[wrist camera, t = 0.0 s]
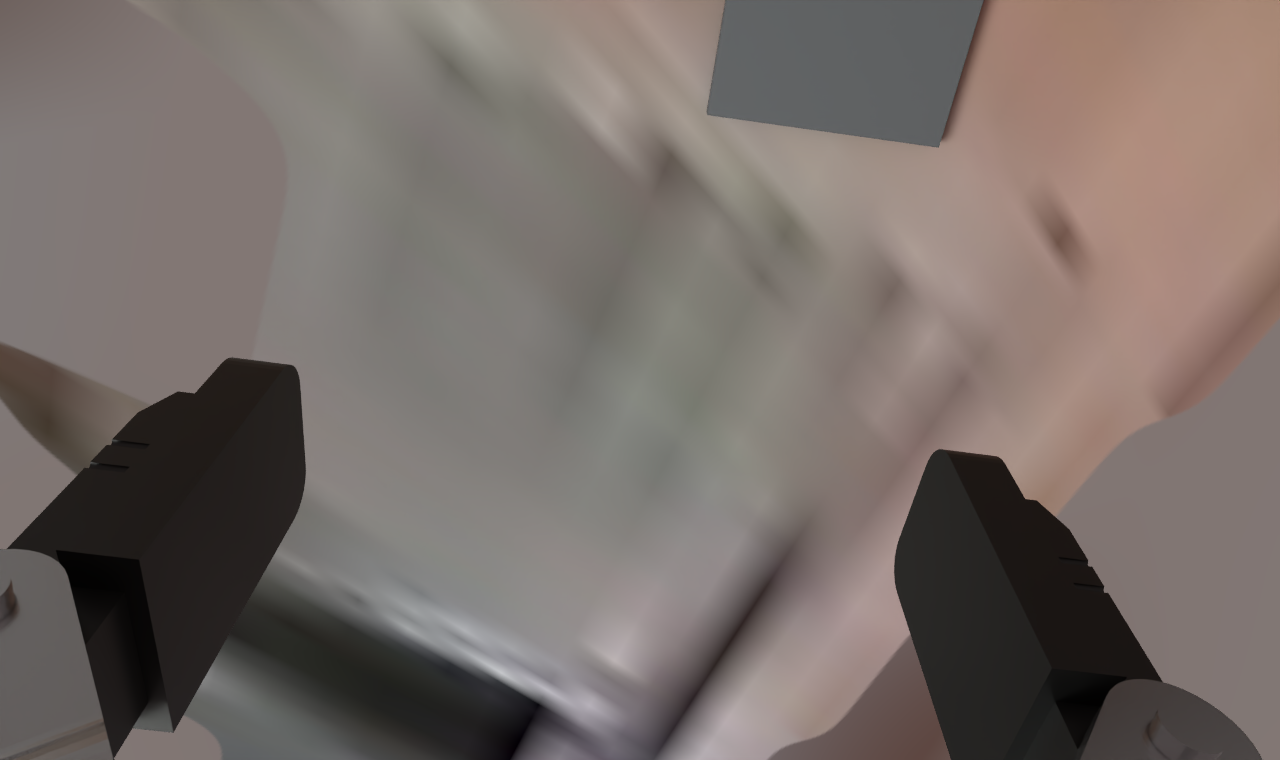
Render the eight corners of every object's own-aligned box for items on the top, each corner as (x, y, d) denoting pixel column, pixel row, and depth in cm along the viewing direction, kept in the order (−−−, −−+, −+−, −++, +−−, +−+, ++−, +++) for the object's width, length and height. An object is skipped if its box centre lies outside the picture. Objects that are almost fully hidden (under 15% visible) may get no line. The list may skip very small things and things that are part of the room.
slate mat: (742, -100, 34) (743, -100, 33) (996, -61, 34) (1001, -60, 34) (706, 111, 38) (707, 114, 37) (934, 143, 38) (938, 147, 38)
